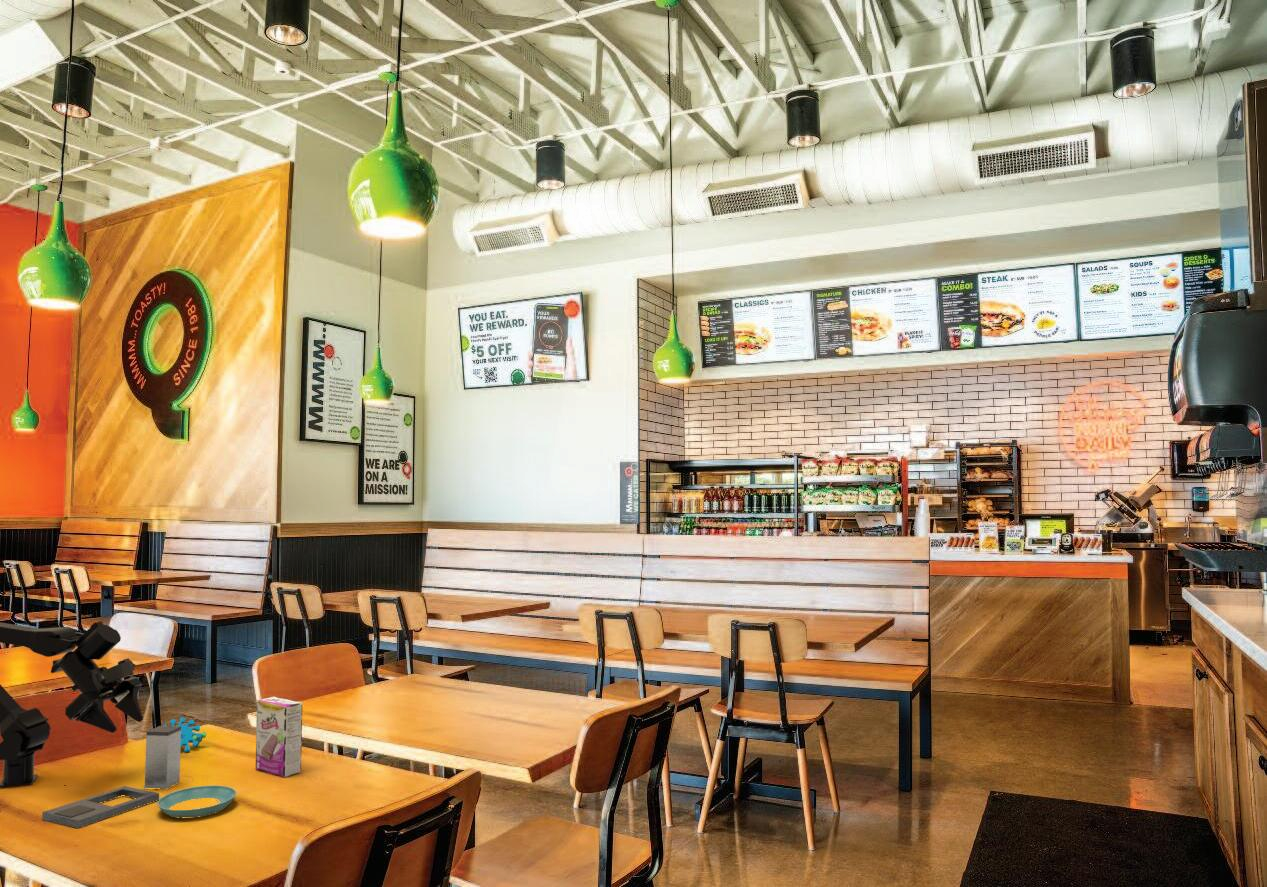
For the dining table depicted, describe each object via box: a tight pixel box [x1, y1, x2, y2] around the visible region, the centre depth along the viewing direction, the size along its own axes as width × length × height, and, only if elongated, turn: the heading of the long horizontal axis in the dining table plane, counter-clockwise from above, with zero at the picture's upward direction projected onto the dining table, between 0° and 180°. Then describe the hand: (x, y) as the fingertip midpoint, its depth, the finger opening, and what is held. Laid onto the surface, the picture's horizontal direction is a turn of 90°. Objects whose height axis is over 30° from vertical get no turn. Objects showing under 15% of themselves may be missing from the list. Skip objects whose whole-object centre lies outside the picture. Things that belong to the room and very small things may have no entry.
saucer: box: [156, 785, 238, 819], centre depth 183 cm, size 15×15×3 cm
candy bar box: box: [255, 696, 303, 778], centre depth 208 cm, size 11×5×16 cm, turn 58°
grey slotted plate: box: [41, 785, 160, 829], centre depth 182 cm, size 11×18×2 cm, turn 155°
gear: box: [162, 716, 207, 753], centre depth 226 cm, size 11×6×10 cm
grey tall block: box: [144, 725, 182, 790], centre depth 198 cm, size 5×5×12 cm
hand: (128, 725), depth 198 cm, fingers open, 9 cm apart
